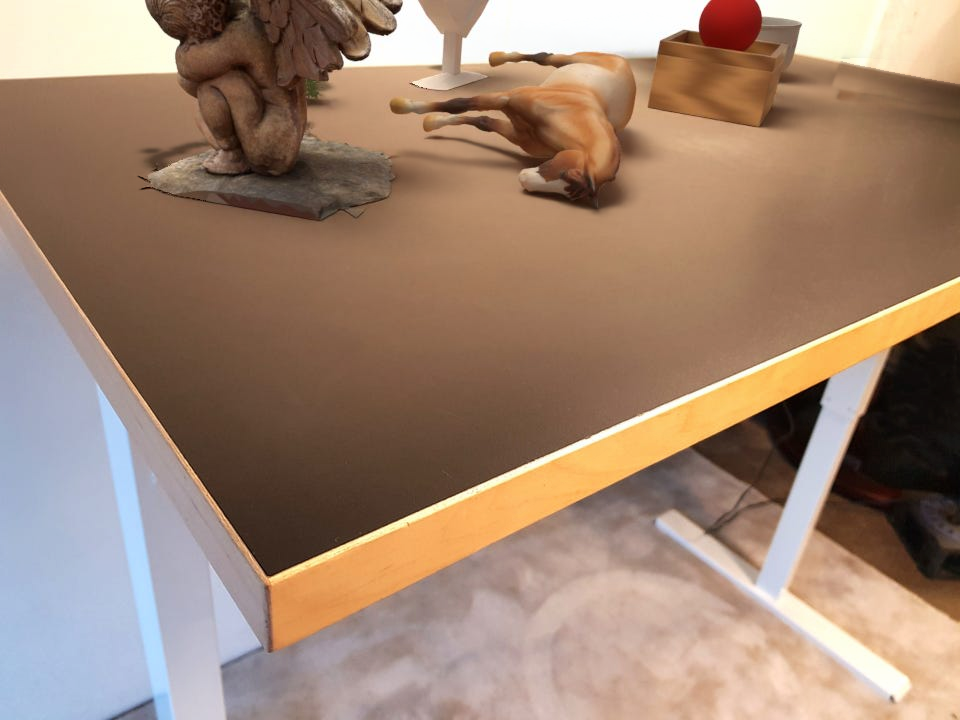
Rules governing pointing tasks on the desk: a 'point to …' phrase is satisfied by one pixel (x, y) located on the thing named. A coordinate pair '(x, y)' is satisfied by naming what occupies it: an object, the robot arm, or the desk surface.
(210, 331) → the desk surface
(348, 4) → the cherub figurine
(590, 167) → the horse figurine
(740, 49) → the christmas ornament
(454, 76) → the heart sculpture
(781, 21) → the teacup
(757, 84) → the wooden box
